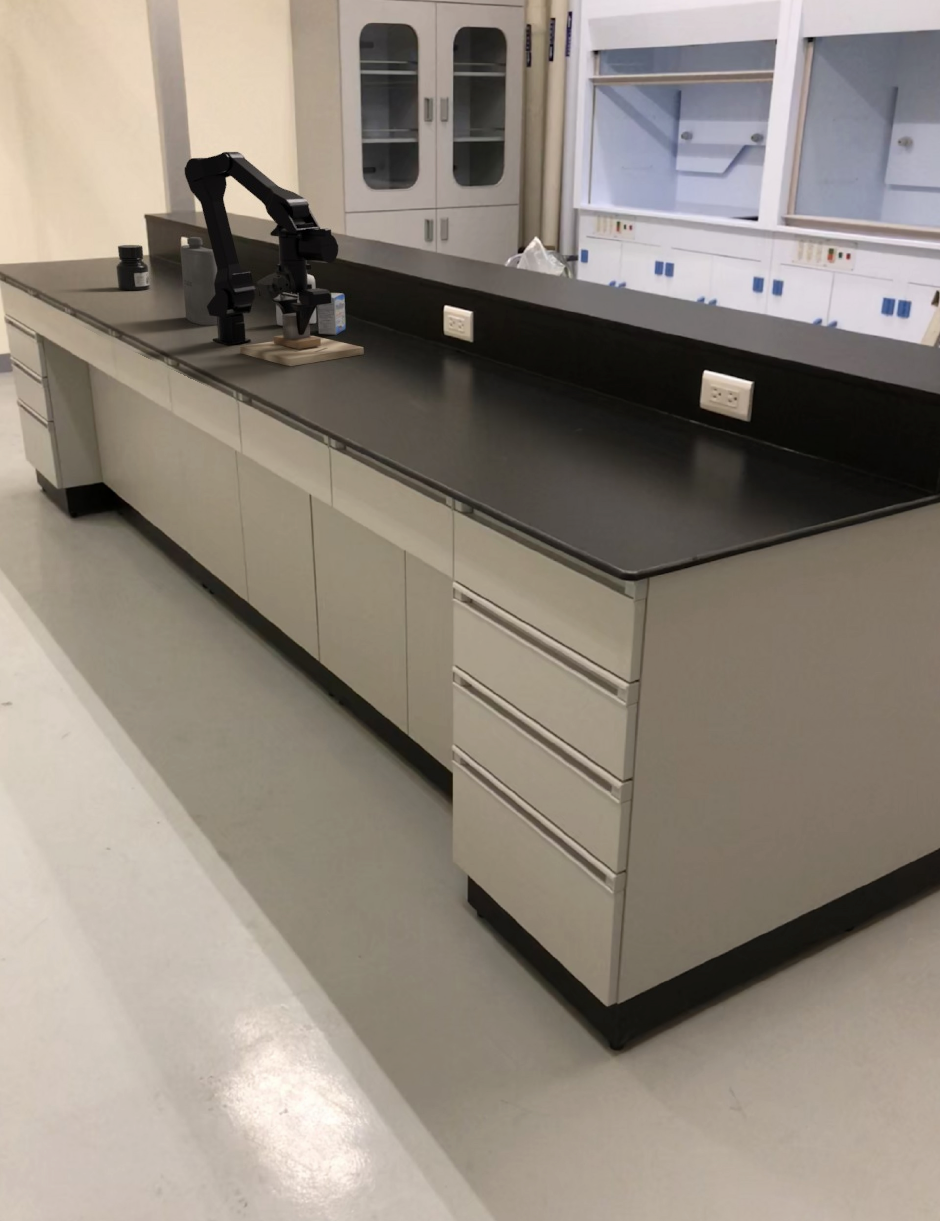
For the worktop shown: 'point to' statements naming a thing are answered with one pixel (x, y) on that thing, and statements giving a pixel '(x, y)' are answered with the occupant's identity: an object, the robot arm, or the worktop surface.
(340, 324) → the medicine box
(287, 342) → the block
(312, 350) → the sanding board
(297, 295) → the robot arm
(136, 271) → the ink bottle
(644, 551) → the worktop surface
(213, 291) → the flask
